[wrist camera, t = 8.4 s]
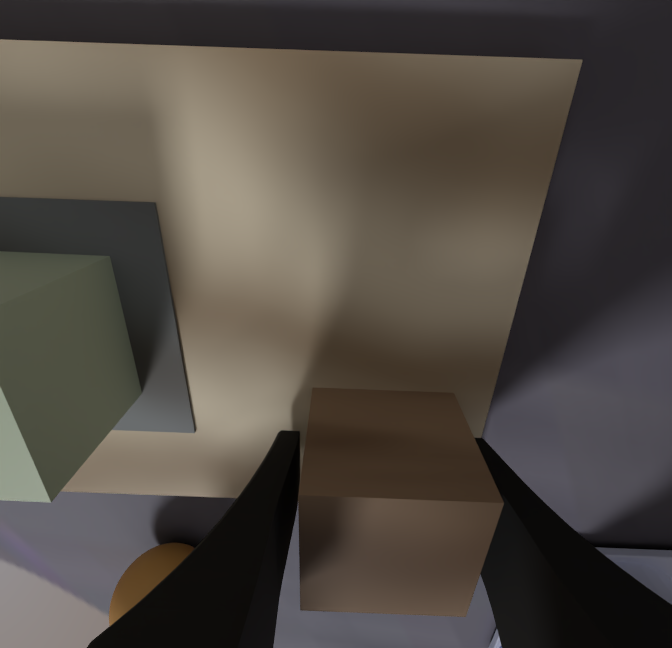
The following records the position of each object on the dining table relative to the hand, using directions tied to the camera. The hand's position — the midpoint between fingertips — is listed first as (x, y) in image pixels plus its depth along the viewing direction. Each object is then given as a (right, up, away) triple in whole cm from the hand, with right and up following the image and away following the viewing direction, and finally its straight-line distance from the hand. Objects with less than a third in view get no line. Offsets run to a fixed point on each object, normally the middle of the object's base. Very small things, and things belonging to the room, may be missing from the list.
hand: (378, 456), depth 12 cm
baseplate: (-5, +5, 0) cm, 7 cm away
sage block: (-10, +4, -1) cm, 11 cm away
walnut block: (0, 0, +1) cm, 1 cm away
